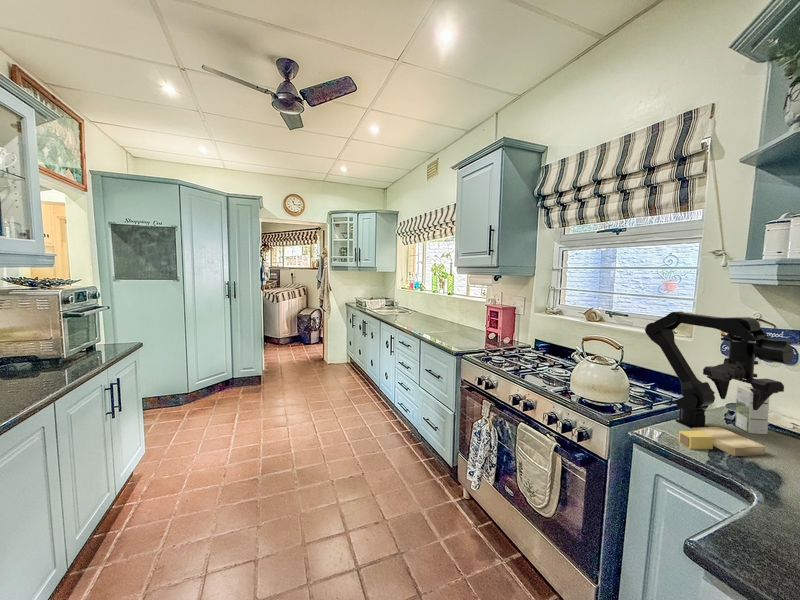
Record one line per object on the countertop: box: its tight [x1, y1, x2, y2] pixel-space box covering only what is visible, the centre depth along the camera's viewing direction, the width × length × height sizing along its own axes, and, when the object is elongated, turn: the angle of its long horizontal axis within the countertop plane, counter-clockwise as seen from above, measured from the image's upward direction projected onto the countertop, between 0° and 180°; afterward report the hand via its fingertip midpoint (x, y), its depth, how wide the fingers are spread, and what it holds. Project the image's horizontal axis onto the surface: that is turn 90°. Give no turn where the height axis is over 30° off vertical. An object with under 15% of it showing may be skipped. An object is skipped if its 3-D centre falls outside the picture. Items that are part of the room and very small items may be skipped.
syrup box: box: [734, 386, 770, 435], centre depth 111 cm, size 6×6×14 cm
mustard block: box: [678, 430, 714, 450], centre depth 101 cm, size 4×4×7 cm
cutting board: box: [691, 426, 766, 457], centre depth 102 cm, size 13×10×2 cm
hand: (738, 404), depth 104 cm, fingers open, 9 cm apart
